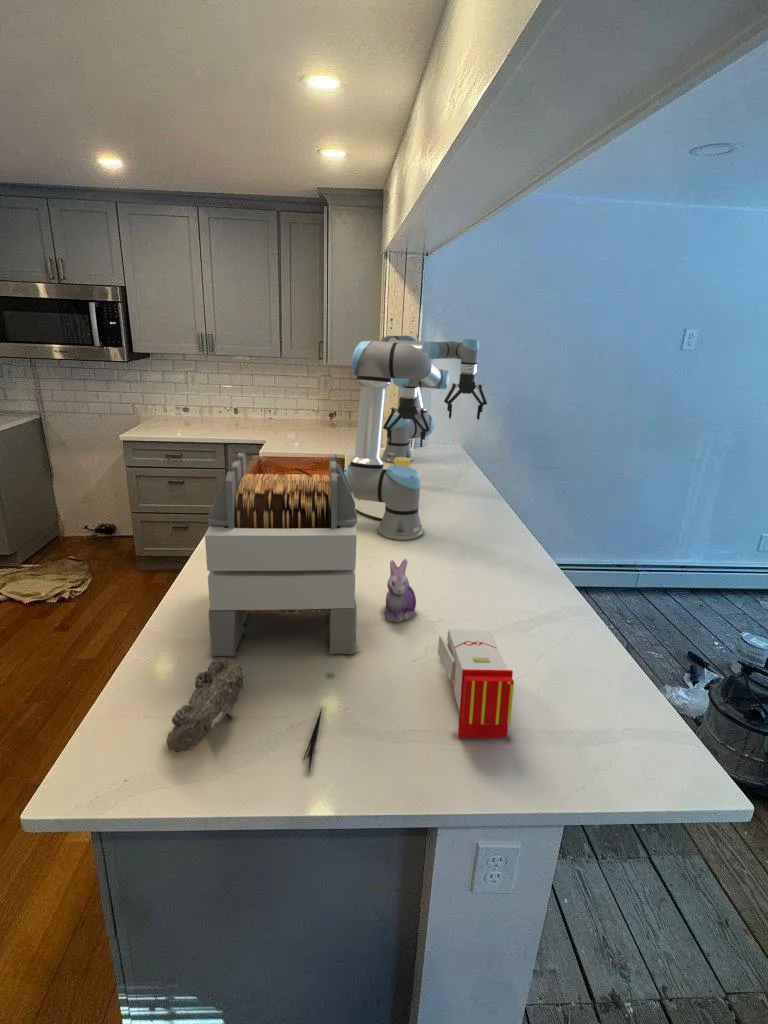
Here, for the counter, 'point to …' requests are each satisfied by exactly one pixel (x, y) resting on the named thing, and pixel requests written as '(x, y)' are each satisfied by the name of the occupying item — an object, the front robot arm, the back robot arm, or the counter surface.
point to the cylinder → (402, 461)
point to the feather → (313, 740)
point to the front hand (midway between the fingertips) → (405, 446)
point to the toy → (478, 682)
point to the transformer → (281, 552)
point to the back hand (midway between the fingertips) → (463, 418)
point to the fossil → (206, 705)
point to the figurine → (399, 594)
